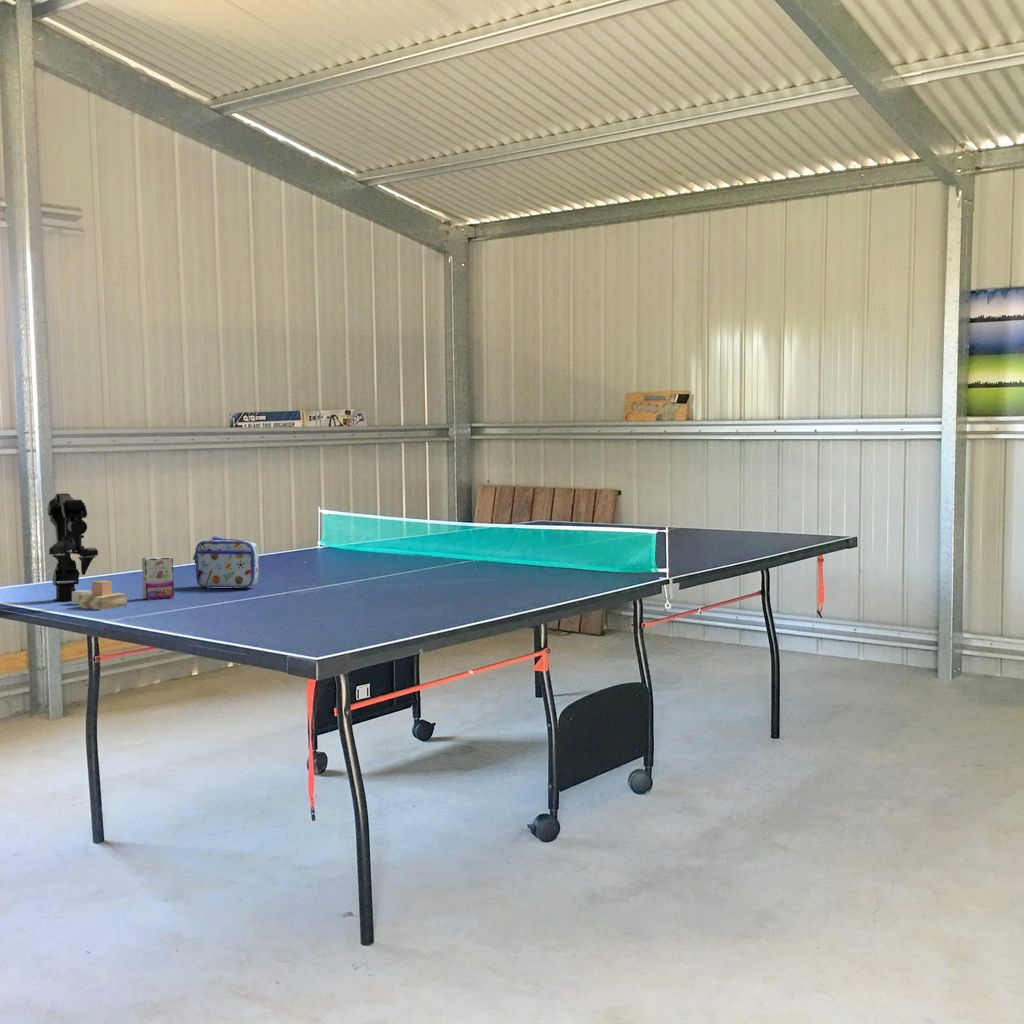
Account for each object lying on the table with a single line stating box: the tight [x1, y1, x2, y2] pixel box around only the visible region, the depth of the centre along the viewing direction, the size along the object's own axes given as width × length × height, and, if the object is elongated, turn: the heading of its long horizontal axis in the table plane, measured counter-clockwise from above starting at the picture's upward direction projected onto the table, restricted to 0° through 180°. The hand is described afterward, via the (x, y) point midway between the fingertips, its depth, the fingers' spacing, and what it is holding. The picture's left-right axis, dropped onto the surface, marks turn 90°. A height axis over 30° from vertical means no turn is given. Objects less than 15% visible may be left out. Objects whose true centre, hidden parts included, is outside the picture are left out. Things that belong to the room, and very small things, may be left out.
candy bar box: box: [141, 556, 175, 600], centre depth 426 cm, size 11×5×16 cm, turn 126°
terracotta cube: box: [91, 579, 113, 596], centre depth 404 cm, size 5×5×5 cm
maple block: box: [78, 591, 128, 611], centre depth 404 cm, size 12×12×5 cm
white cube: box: [71, 589, 92, 605], centre depth 410 cm, size 5×5×5 cm
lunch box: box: [192, 535, 260, 589], centre depth 459 cm, size 28×10×22 cm, turn 84°
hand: (73, 574), depth 405 cm, fingers open, 9 cm apart
